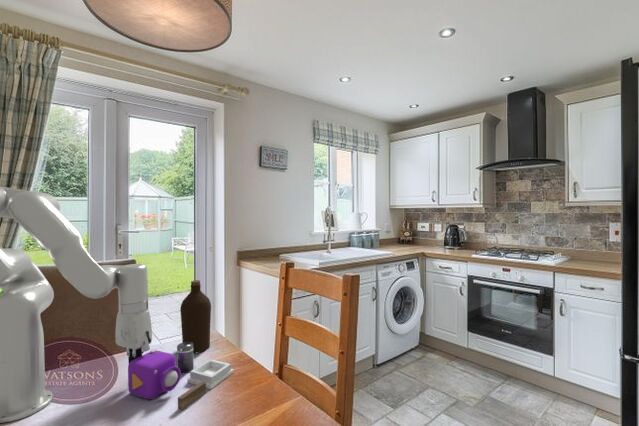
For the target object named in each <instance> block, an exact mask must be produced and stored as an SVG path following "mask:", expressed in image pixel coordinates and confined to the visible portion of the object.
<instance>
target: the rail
mask: <svg viewBox="0 0 639 426" xmlns="http://www.w3.org/2000/svg"><path fill="white" fill-rule="evenodd" d="M206 393H207V388H206V382H203V381H201V382H200V383H198V384H197V385H195V384H194V386H192V387H191V388H189V389H188V390H187V391H185V392H184V393H183V394H181V395H180V396H178V397H177V410H179V411H184V410H185V409H186V408H188V407H189V406H190V405H191V404H193V403H194V402H196V401H197V400H199V399H200V398H201V397H202V396H204V395H205V394H206Z"/></svg>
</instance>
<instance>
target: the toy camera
mask: <svg viewBox="0 0 639 426" xmlns="http://www.w3.org/2000/svg"><path fill="white" fill-rule="evenodd" d="M176 363H177V360H176V356H175V354H173V353H169V352H165V351H162V350H161V351H160V350H158V349H156V348H153V349H151V350H149V352H146V353H145V354H142V356H140V357H138V358H136V359H134V360H132V361H131V362H130V363H129V362H128V365H127V382H128V384H127V385H128V392H129V393H130V394H131V395H134V396H137V397H139V398H144V399H146V400H152V399H154V398H156V397H157V396H159V395H161V394H162V393H164V392H167V393H168V392H171V391H173V390H174V389H175V388H176V386H177V385H178V384H179V383H180V379H181V375H182V373H181V371H180V369H179V367H177V365H176Z"/></svg>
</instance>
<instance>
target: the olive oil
mask: <svg viewBox="0 0 639 426" xmlns="http://www.w3.org/2000/svg"><path fill="white" fill-rule="evenodd" d="M190 284H191V285H190V292H189V293H188V294H187V295H186V296H185V298H184V299H183V300H182V302H181V305H180V322H181V336H182V337H181V338H182V342H181V343H183V342H192V343H193V354H198V353H202V352H205V351H207V350H208V349H209V348H210V347H211V319H212V318H211V317H212V316H211V315H212V303H211V301H210V299H209V297H208V296H207V295H206V294H205V293H203V291H202V290H201V288H202V287H201V284H202V283H201V280H198V279H195V280H191V281H190Z"/></svg>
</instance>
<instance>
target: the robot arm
mask: <svg viewBox="0 0 639 426" xmlns="http://www.w3.org/2000/svg"><path fill="white" fill-rule="evenodd" d="M60 210H61V206H60V203H59V201H58V200H57V198H55V197H54V195H51V194H49V193H48V192H47V193H46V192H41V191H34V190H33V191H31V190H25V189H19V188H14V187H13V188H12V187H8V186H7V187H6V186H0V218H5V219H13V220H15V222H16V223H17V224H18V225H20V227H21V228H23V230H25V232H27V233H28V234H29V236H31V237H32V238H33V239H34V240H35V241H36V242H37V243H38V244H39V245H40V246H41V247H42V248H43V249H44V250H45V251H46V252H47V254H48V255H49V258H50V259H51V261H52V262H53V264H54V265H55V266H56V269H57V270H58V271H59V272H60V274H61V276H62V277H63V278H64V279H65V280H66V281H67V282H68V283H69V284H70V285H71V286H73V287H74V288H75V289H76V291H78V292H79V293H80V294H81V295H83V296H85V297H86V298H89V299H101V298H104V297H106V296H107V295H109V294H110V293H111V292H112V290H115V289H117V290H118V291H117V293H118V294H117V295H118V312H117V314H116V319H115V320H116V321H115V335H114V336H115V344H116V345H117V346H118V347H123V348H124V350H125V351H126V356H127V357H128V361H127V362H128V364H129V363H130V362H131V361H132V360H134V359H136V358H138V357H140V356H142V355H144V353H145V352H146V353H147V351H150V344H151V343H152V341H153V340H152V339H153V332H152V331H153V330H152V329H153V328H152V321H151V316H150V311H149V289H148V287H149V285H148V283H149V282H148V277H149V276H148V268H147V266H146V265H145V264H143V263H130V264H125V265H119V264H118V265H116V264H114V265H113V264H102V265H99V264H98V263H97V262H96V261H95V260H94V258H93V257H91V255H90V254H89V252H88V250H87V249H86V246H85V245H84V242H83V236H82V234H81V232H80V231H79V229H78V228H77V227H75V226H74V224H73V223H72V222H71V221H70V220H69V219H68V218H67V217H66V216H65V215H64V214H63V213H62V212H61V211H60ZM0 289H1V290H2V293H1V294H0V424H1V423H4V424H5V423H8V422H14V421H18V420H20V419H23V418H26V417H28V416H31V415H33V414H36V413H37V412H39V411H41V410H43V409H44V408H46V407H47V406H48V405H50V403H51V402H52V400H53V398H54V396H53V395H54V393H53V392H52V391H51V390H48V389H46V375H45V374H46V370H45V366H46V365H45V341H44V340H45V336H44V329H43V325H42V324H43V323H42V319H41V313H44V311H45V310H47V308H49V306H50V305H51V304H52V302H53V300H54V298H55V292H54V289H53V287H52V285H51V284H50V282H49V281H48V279H47V278H46V277H45V275H44V274H43V272H42V271H41V270H40V269H39V267H38V266H37V264H36V263H35V261H34V260H33V259H32V258H31V257H30V256H29V254H27V253H25V252H24V251H22V250H20V249H17V248H8V247H7V248H4V247H3V246H2V245H1V244H0Z"/></svg>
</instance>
